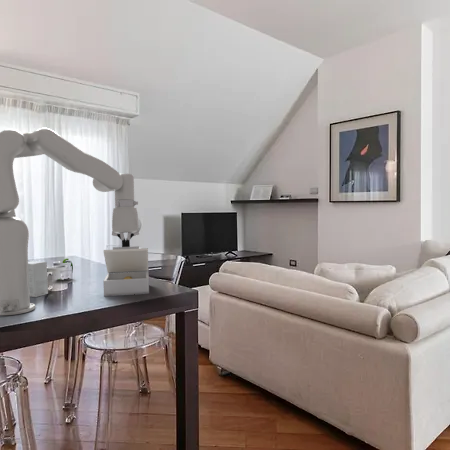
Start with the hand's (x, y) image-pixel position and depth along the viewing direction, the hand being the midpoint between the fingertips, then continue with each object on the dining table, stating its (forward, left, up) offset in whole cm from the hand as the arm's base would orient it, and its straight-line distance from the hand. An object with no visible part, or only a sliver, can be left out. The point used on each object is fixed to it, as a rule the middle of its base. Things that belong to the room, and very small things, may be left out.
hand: (126, 249), depth 158 cm
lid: (+3, 0, -6) cm, 6 cm away
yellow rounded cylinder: (+1, 0, -16) cm, 16 cm away
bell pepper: (+34, +31, -17) cm, 49 cm away
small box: (+3, +36, -17) cm, 40 cm away
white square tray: (+1, 0, -17) cm, 17 cm away
